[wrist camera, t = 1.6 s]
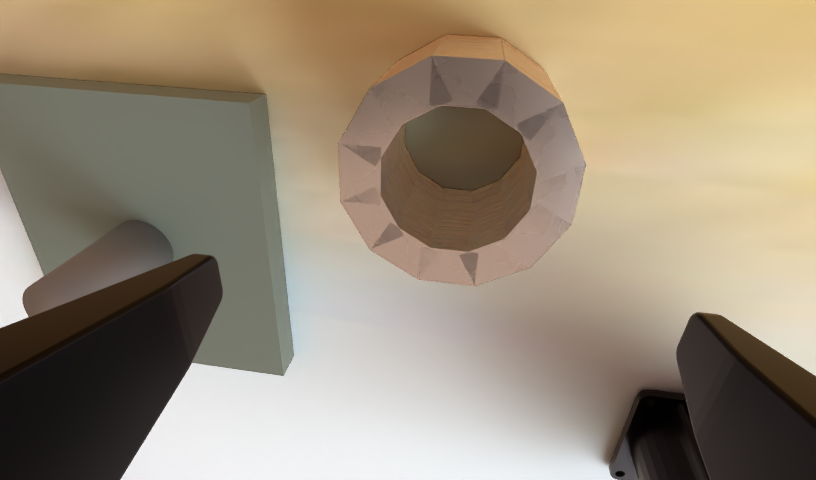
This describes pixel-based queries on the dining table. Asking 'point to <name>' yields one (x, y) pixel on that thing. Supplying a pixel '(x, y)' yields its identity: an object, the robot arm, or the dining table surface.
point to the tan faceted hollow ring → (452, 208)
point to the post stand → (150, 199)
